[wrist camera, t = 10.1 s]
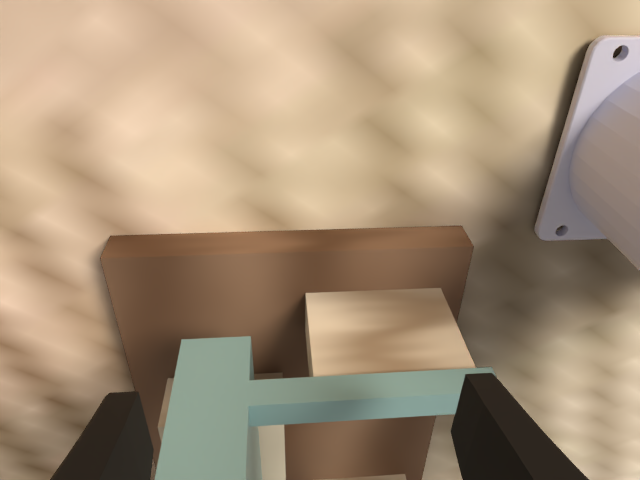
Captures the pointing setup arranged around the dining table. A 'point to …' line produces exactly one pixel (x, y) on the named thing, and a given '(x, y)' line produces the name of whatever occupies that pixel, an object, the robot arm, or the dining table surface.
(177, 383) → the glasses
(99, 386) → the dining table surface
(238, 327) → the display stand
